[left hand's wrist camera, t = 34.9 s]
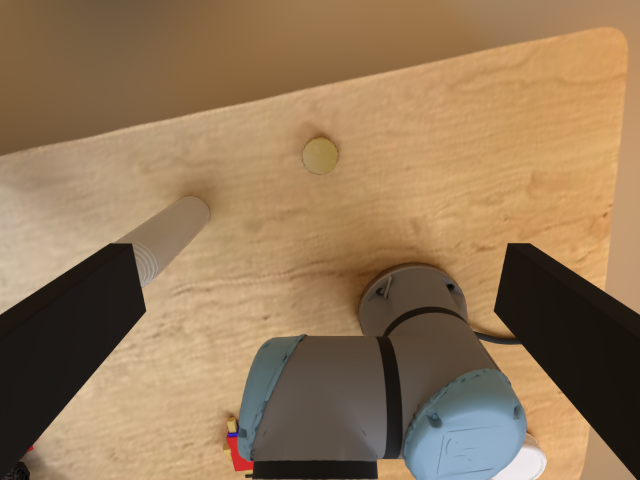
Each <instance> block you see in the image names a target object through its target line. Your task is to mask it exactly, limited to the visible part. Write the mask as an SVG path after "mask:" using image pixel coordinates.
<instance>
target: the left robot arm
mask: <svg viewBox="0 0 640 480" xmlns="http://www.w3.org/2000/svg"><path fill="white" fill-rule="evenodd" d="M145 312H146V307H145V303H144V298H143V293H142V288H141V283H140V279H139V274H138V269H137V264H136V259H135V255H134V250H133V245H132V243H110V244H108V245H107V246H105V247H104V248H102V249H101V250H99V251H98V252H96V253H95V254H93V255H91V256H90V257H88V258H87V259H85V260H84V261H82V262H81V263H79V264H78V265H76V266H75V267H73V268H71V269H70V270H68V271H67V272H65V273H64V274H62V275H61V276H59V277H58V278H56V279H55V280H53V281H51V282H50V283H48V284H47V285H45V286H44V287H42V288H41V289H39V290H38V291H36V292H35V293H33V294H31V295H30V296H28V297H27V298H25V299H24V300H22V301H21V302H19V303H18V304H16V305H15V306H13V307H12V308H10V309H8V310H7V311H5V312H4V313H2V314H1V315H0V480H3V479H4V478H5V477H6V476H7V474H8V473H9V472H10V471H11V470H12V469H13V467H14V466H15V465H16V464H17V463H18V462H19V460H20V459H21V458H22V457H23V456H24V454H25V453H26V452H27V451H28V450H29V449H30V447H31V446H32V445H33V444H34V443H35V442H36V440H37V439H38V438H39V437H40V436H41V434H42V433H43V432H44V431H45V430H46V429H47V427H48V426H49V425H50V424H51V423H52V422H53V420H54V419H55V418H56V417H57V416H58V414H59V413H60V412H61V411H62V410H63V409H64V407H65V406H66V405H67V404H68V403H69V402H70V400H71V399H72V398H73V397H74V396H75V394H76V393H77V392H78V391H79V390H80V389H81V387H82V386H83V385H84V384H85V383H86V382H87V380H88V379H89V378H90V377H91V376H92V374H93V373H94V372H95V371H96V370H97V369H98V367H99V366H100V365H101V364H102V363H103V362H104V360H105V359H106V358H107V357H108V356H109V354H110V353H111V352H112V351H113V350H114V349H115V347H116V346H117V345H118V344H119V343H120V342H121V340H122V339H123V338H124V337H125V336H126V334H127V333H128V332H129V331H130V330H131V329H132V327H133V326H134V325H135V324H136V323H137V322H138V320H139V319H140V318H141V317H142V316H143V314H144V313H145ZM494 312H495V313H496V314H497V316H498V317H499V318H500V319H501V320H502V322H503V323H504V324H505V325H506V326H507V327H508V329H509V330H510V331H511V332H512V333H513V334H514V336H515V337H516V338H512V339H507V338H498V337H493V336H489V335H486V334H482V333H479V332H475V331H473V330H472V329H471V328H470V326H469V323H468V315H467V307H466V301H465V297H464V295H463V293H462V291H461V289H460V287H459V286H458V285H457V284H456V282H455V281H454V280H453V278H452V277H451V276H450V275H448V274H447V273H446V272H445V271H443V270H441V269H439V268H437V267H435V266H432V265H429V264H423V263H406V264H401V265H397V266H394V267H392V268H389V269H387V270H385V271H384V272H382V273H380V274H379V275H378V276H376V277H375V278H374V279H373V280H372V281H371V282H370V283H369V285H368V286H367V287H366V289H365V290H364V292H363V294H362V296H361V299H360V303H359V320H360V325H361V329H362V332H363V334H364V336H308V335H306V334H302V335H300V336H292V337H276V338H272V339H270V340H268V341H266V342H265V343H264V344H263V345H262V346H261V347H260V349H259V350H258V352H257V354H256V356H255V358H254V360H253V363H252V365H251V368H250V371H249V374H248V378H247V381H246V385H245V389H244V393H243V398H242V403H241V408H240V415H239V426H240V427H239V432H238V438H237V446H238V452H239V455H240V456H241V457H242V458H244V459H246V460H247V461H248V462H250V461H254V463H253V475H252V480H378V473H377V459H404V461H405V465H406V466H407V468H408V469H409V470H410V472H411V473H412V475H413V476H414V477H415V479H416V480H489V479H491V478H492V477H494V476H496V475H497V474H498V473H499V472H500V471H501V470H503V469H504V468H506V467H507V466H508V465H509V464H510V463H511V462H512V461H513V459H514V458H515V457H516V456H517V454H518V453H519V451H520V449H521V447H522V445H523V443H524V440H525V436H526V431H527V421H526V415H525V412H524V409H523V407H522V405H521V403H520V401H519V399H518V398H517V396H516V394H515V392H514V390H513V389H512V387H511V383H510V381H509V380H508V378H507V377H506V376H505V375H504V373H502V372H501V370H500V369H499V367H498V366H497V365H496V363H495V362H494V360H493V359H492V357H491V356H490V355H489V353H488V352H487V350H486V349H485V348H484V346H483V345H482V343H481V342H480V340H479V339H481V340H485V341H488V342H492V343H497V344H508V345H513V344H522V345H523V346H524V347H525V349H526V350H527V351H528V352H529V353H530V354H531V356H532V357H533V358H534V359H535V360H536V362H537V363H538V364H539V365H540V366H541V367H542V369H543V370H544V371H545V372H546V373H547V374H548V376H549V377H550V378H551V379H552V380H553V382H554V383H555V384H556V385H557V386H558V387H559V389H560V390H561V391H562V392H563V393H564V394H565V396H566V397H567V398H568V399H569V400H570V402H571V403H572V404H573V405H574V406H575V407H576V409H577V410H578V411H579V412H580V413H581V414H582V416H583V417H584V418H585V419H586V420H587V422H588V423H589V424H590V425H591V426H592V427H593V429H594V430H595V431H596V432H597V433H598V434H599V436H600V437H601V438H602V439H603V440H604V441H605V443H606V444H607V445H608V446H609V447H610V449H611V450H612V451H613V452H614V453H615V454H616V456H617V457H618V458H619V459H620V460H621V462H622V463H623V464H624V465H625V466H626V467H627V469H628V470H629V471H630V472H631V473H632V474H633V476H634V477H635V478H636V479H637V480H640V315H639V314H638V313H636V312H635V311H633V310H632V309H630V308H628V307H627V306H625V305H624V304H622V303H621V302H619V301H618V300H616V299H615V298H613V297H612V296H610V295H608V294H607V293H605V292H604V291H602V290H601V289H599V288H598V287H596V286H595V285H593V284H592V283H590V282H589V281H587V280H585V279H584V278H582V277H581V276H579V275H578V274H576V273H575V272H573V271H572V270H570V269H569V268H567V267H565V266H564V265H562V264H561V263H559V262H558V261H556V260H555V259H553V258H552V257H550V256H549V255H547V254H545V253H544V252H542V251H541V250H539V249H538V248H536V247H535V246H533V245H532V244H530V243H508V245H507V250H506V255H505V259H504V264H503V269H502V274H501V279H500V283H499V288H498V293H497V298H496V303H495V307H494Z"/></svg>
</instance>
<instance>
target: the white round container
mask: <svg viewBox="0 0 640 480" xmlns="http://www.w3.org/2000/svg"><path fill="white" fill-rule="evenodd" d="M545 467H546V456H545V454H544V452H543V450H541V447H540V446H539V444H538V443H537V441H536V440H535V438H534V437H533V436H532V435H530V434H529V433H527V432H526V436H525V440H524V443H523V445H522V447H521V449H520V451H519V453H518V454H517V456H516V457H515V458H514V459H513V461H512V462H511V463H510V464H509V465H508V466H507V467H506V468H504V469H503V470H501V471H500V472H499V473H498V474H497V475H496V476H494V477H492V478H491V479H492V480H535V479H536V478H538V477H539V476H540V475H541V474H542V472H543V471H544V469H545Z"/></svg>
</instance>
